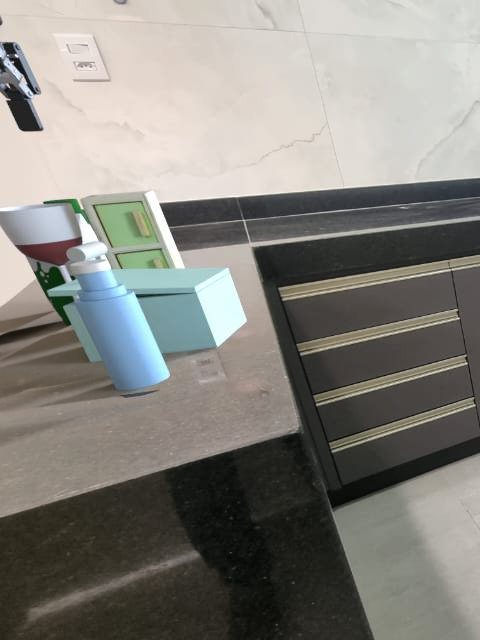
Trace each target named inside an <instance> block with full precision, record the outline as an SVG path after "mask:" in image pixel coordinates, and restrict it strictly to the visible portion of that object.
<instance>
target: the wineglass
mask: <svg viewBox="0 0 480 640" xmlns="http://www.w3.org/2000/svg"><path fill="white" fill-rule="evenodd" d="M0 228H1V229H2V231H3V233H4V234H5V235H6V236H7V238H8V239H9V241H10V242H11V243H12V244H13V246H15V248H16V249H17V250H18V251H19V252H20V253H21V254H22V255H24V256H25V257H26V256H27V257H29V258H32V259H34V260H38V261H41V262H46V263H50V264H54V265H57V266H58V268H59V270H60V272H61V274H62V276H63V278H64V280H65V282H66V283H68V282H71V281H72V280H71V277H70V275H69V273H68V271H67V269H66V267H65V263H66V262H68V261H69V260H70V259H69V258H68V257H67V255H66V252H67V250H68V249H70V248H73V247H76V246H79V245H82V234H81V229H80V226H79V223H78V220H77V217H76V214H75V212H74V209H73V207H72V205H71V203H53V204H43V203H40V204H39V203H38V204H29V205H28V204H27V205H19V206H18V205H17V206H9V207H2V208H0ZM73 298H74V300H76V299H78V298H79V296H73Z"/></svg>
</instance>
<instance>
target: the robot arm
mask: <svg viewBox="0 0 480 640" xmlns="http://www.w3.org/2000/svg"><path fill="white" fill-rule="evenodd" d="M3 23H4V22H3V19H2V16H1V15H0V27H1V26H2V25H3ZM23 78H24V80H25V82H26V83H25V82H24V81H23ZM0 93H1V94H2V96H3V97H5V102H6V104H7V106H8V109H9V110H10V113H11V115H12V117H13V119H14V122H15V123H16V125H17V128H18V129H19V130H20V131H21V132H24V133H25V132H26V133H29V132H30V133H31V132H32V133H33V132H43V131H44V129H45V128H44V126H43V123H42V121H41V119H40V117H39V115H38V112H37V110H36V108H35V105H34V104H33V101H32V100H34V98H35V95H36V96H37V95H39V96H40V95H41V94H42V90H41V88H40V86H39V84H38V81H37V79H36V77H35V75H34V73H33V71H32V69H31V66H30V64H29V62H28V60H27V58H26V56H25V54H24V51H23V49H22V47H21V46H20V45H19V43H17V41H16V42H15V41H0Z"/></svg>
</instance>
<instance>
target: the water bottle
mask: <svg viewBox="0 0 480 640" xmlns="http://www.w3.org/2000/svg"><path fill="white" fill-rule="evenodd" d="M70 268H71V270H72V272H73V274H75V276H76V278H77V280H78V282H79V284H80V286H81V288H82V289H81V290H78V291H77V294H78V296H79V298H78V299H76V300H74V304H75V306H76V308H77V310H78V312H79V314H80V316H81V318H82V320H83V322H84V324H85V326H86V328H87V330H88V332H89V334H90V336H91V339H92V341H93V343H94V345H95V347H96V349H97V351H98V353H99V355H100V357H101V359H102V361H101V362H102V363H103V365H104V367H105V370H106V371H107V373H108V375H109V378H110V379H111V382H112V383H113V386H114V387H115V390H117V391H133V390H138V389H144V388H147V387H150V386H154V385H156V384H159V383H162V382H163V381H165V380H167V379H168V378H169V377H170V376H171V374H170V371H169V369H168V367H167V364H166V362H165V359H164V357H163V354H161V353H160V350H159V348H158V346H157V343H156V341H155V339H154V337H153V334H152V332H151V330H150V327H149V325H148V323H147V321H146V318H145V316H144V314H143V311H142V309H141V307H140V305H139V302H138V300H137V298H136V295H135V293H134V291H132V290H126V289H125V287H124V284H121V283H117V282H116V280H115V278H114V276H113V273H112V271H111V266H110V264H109V262H108V260H106V259H98V260H88V261H82V262H77V263H73V264H71V265H70ZM158 391H160V389H155V390H149V391H142V392H134V393H127V394H120V395H119V397H121V398H122V397H123V398H135V397H141V396H145V395H149V394H153V393H156V392H158Z"/></svg>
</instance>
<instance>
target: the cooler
mask: <svg viewBox="0 0 480 640" xmlns="http://www.w3.org/2000/svg"><path fill="white" fill-rule="evenodd" d="M135 295H136V298H137V300H138V302H139V305H140V307H141V309H142V311H143V314H144V316H145V318H146V321H147V323H148V325H149V327H150V330H151V332H152V334H153V337H154V339H155V341H156V343H157V346H158V348H159V350H160V353H161V355H163V354H172V353H180V352H188V351H195V350H204V349H212V348H219V347H220V345H222V344H223V343H224V342H225V341H226V340H227V339H229V338H230V336H232V335H233V334H234V333H235V332H237V330H239V329H240V328H241V327H242V326H243V325H244V324H245V323H247V322H248V321H247V317H246V315H245V312H244V309H243V306H242V304H241V299H240V297H239V294H238V292H237V289H236V286H235V284H234V280H233V278H232V275H231V273H230V272H229V273H228V274H226V275H225V276H223V277H221V278H220V279H218V280H216V281H215V282H213V283H211V284H210V285H208V286H206V287H205V288H203V289H202V290H200V291H198V292H197V293H168V294H135ZM63 308H64V310H65V312H66V314H67V316H68V318H69V320H70V322H71V324H72V325H71V327H72V328H73V330H74V332H75V334H76V336H77V338H78V340H79V342H80V344H81V346H82V348H83V350H84V352H85V354H86V356H87V358H88V360H89V362H90V363H96V362H97V363H98V362H103V361H102V359H101V357H100V355H99V353H98V351H97V349H96V347H95V345H94V343H93V341H92V339H91V336H90V334H89V332H88V330H87V328H86V326H85V324H84V322H83V320H82V318H81V316H80V314H79V312H78V310H77V308H76V306H75V304H74V302H72V303H70V304H67V305H65V306H63Z"/></svg>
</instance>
